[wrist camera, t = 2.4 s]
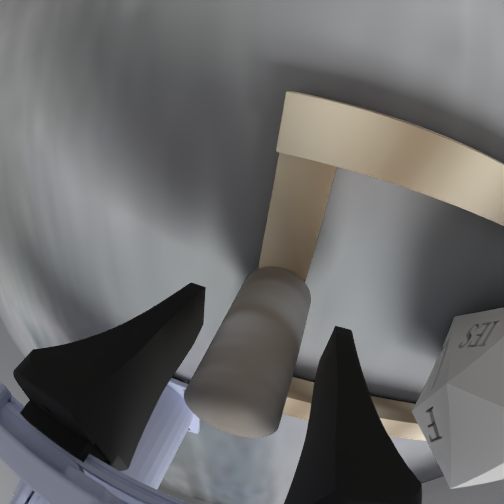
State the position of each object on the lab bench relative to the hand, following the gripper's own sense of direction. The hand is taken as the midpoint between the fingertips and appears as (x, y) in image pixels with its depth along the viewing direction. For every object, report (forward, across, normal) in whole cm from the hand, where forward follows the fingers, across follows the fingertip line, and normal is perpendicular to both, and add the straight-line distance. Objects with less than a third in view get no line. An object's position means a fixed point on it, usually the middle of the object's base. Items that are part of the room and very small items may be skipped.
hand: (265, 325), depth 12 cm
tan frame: (+3, -9, 0) cm, 9 cm away
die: (+3, -12, 0) cm, 12 cm away
